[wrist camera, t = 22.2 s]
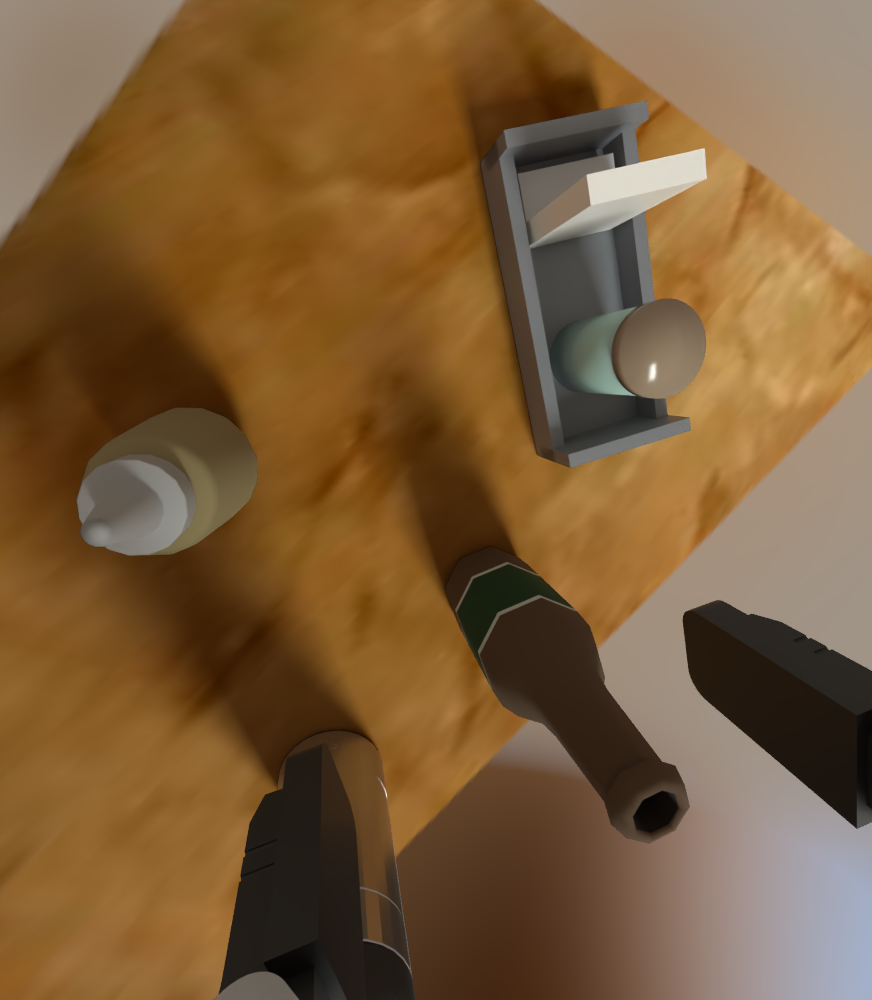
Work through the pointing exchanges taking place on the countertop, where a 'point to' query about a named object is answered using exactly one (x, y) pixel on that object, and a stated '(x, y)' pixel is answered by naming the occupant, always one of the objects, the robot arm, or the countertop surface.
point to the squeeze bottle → (166, 483)
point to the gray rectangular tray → (572, 286)
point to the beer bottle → (562, 687)
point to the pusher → (600, 193)
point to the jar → (631, 351)
